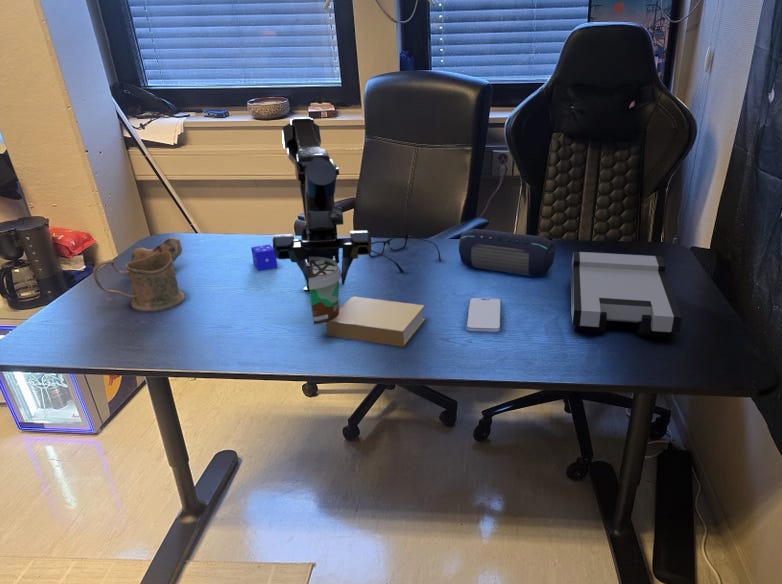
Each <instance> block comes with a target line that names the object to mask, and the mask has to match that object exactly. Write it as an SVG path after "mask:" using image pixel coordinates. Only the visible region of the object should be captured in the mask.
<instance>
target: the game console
mask: <svg viewBox="0 0 782 584" xmlns="http://www.w3.org/2000/svg"><path fill="white" fill-rule="evenodd" d="M571 261H572V262H571V282H570V303H571V304H570V315H571V320H572V326H573V329H574V332H582V333H583V332H585V333H598V334H604V331H606V326H607V321H608V322H620V323H635V327H636V331H637V336H638V337H651V338H665V339H668V338H669V336H672V333H674V334H675V333H676V334H677V333H678V334H680V331H681V326H682V321H683V315H682V313H681V310H680V308H679V305H678V302H677V299H676V297H675V295H674V292H673V289H672V286H671V284H670V281H669V277H668V276H667V273H666V269H667V268H666V267H667V266H666V263H665V260H664V258H663V256H659V255H643V254H641V255H640V254H626V253H625V254H624V253H606V252H590V251H589V252H587V251H572V260H571Z"/></svg>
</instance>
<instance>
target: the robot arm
mask: <svg viewBox="0 0 782 584" xmlns="http://www.w3.org/2000/svg"><path fill="white" fill-rule="evenodd" d="M289 121H290V122H289V123H287V124H286V125H284V126H283V127H282V131H281V134H282V144H283V148H284V149H283V150H286V151H287V157H288V159H289V160H290V162H291V163H292V164H293V166H294V173H295V180H296V181H297V182H298V185H299V192H300V198H301V205H302V212H303V218H304V224H305V225H304V227H303V229H302V232H301V234H300V239H299V238H297V239H296V238H295V236H294V234H293V233H289V234H288V233H286V234H285V233H284V234H275V235H274V236H273V238H272V247H273V249H274V252H275V255H276V260H290V262H291V263H296V264H297V266H298V268H299V269H300V271H301V273H302V275H303V277H304V279H305V284H306V286H305V287H304V288H303V291H304V292H309V293H310V290H309V280H308V278H310V265H309V257H324V258H329V259H332V260H334V261H335V262H336V263H337V265H338V264H339V263H340V249H342V251H341V253H342V254H341V255H342V256H341V285H342V286H344V285H345V283H346V279H347V277H348V274H349V273H348V272H349V270H350V267H351V265H352V262H353V261H354V260H356V259H359V256H364V255H365V256H366V255H367V256H369V254H370V255H371V254H372V251H371V250H372V245H371V243H372V235H371V233H370V231H369V230H367V229H366V230H350V231H349V233H350V235H349V236H350V237H341V238H340V237H339V238H338V226H342V225H344V213H343V206H336V204H335V192H336V186H337V185H336V183H337V178H338V176H340V169H339V167H338V166H337V165H336V164H335V162H334V160H333V159H330V155H329V153H328V151H327V150H326V149H323V148H320V147H321V146H322V145H321V144H322V139H321V138H322V137H321V131H320V125H318V124H316V123H315V120H314V118H311V117H293V118H292V119H291V118H290V120H289ZM338 266H339V265H338ZM339 285H340V283H339V282H338V286H339Z"/></svg>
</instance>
